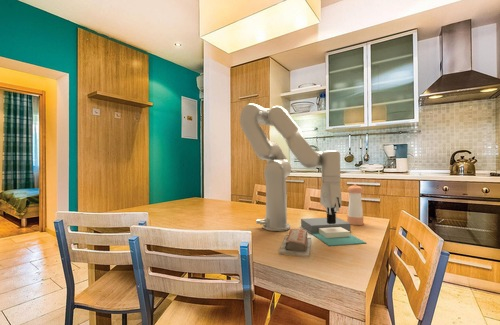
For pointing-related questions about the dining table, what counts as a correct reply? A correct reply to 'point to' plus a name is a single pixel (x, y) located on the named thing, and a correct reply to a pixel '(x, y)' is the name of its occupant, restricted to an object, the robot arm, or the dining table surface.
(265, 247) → the dining table surface
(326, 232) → the cream flat block
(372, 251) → the dining table surface
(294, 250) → the packaged product
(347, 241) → the mat
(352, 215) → the pepper shaker
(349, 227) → the block
